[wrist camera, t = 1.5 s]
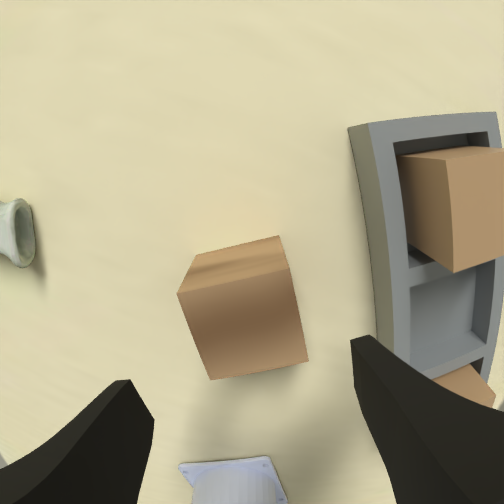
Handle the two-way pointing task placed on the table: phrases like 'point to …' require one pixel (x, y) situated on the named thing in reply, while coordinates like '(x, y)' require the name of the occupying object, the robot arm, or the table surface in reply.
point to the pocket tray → (411, 275)
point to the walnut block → (243, 309)
